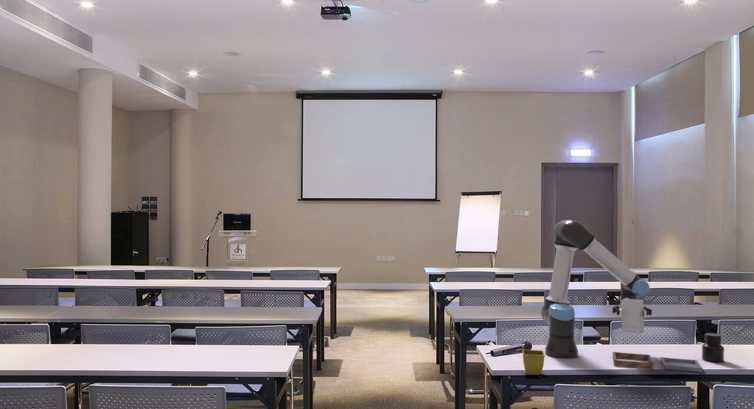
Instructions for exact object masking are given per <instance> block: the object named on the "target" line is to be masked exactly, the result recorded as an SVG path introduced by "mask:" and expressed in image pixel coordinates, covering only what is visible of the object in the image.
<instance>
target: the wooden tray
mask: <svg viewBox="0 0 754 409" xmlns="http://www.w3.org/2000/svg"><path fill="white" fill-rule="evenodd" d="M623 358H627V359H628V360H627V359H623ZM635 360H637V361H635ZM612 361H613V366H614V367H623V366H626V367H625V368H638V369H648V370H654V362H653V359H652V357H651V355H650V354H644V353H634V352H633V353H632V352H630V353H629V352H622V351H621V352H620V351H619V352H618V351H612Z"/></svg>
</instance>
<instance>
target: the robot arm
mask: <svg viewBox="0 0 754 409" xmlns="http://www.w3.org/2000/svg"><path fill="white" fill-rule="evenodd" d="M553 229H554V230H553V235H554V243H553V245H554V247H555V248H556V249H555V257H554V264H553V269H552V276H551V282H550V288H549V294H548V296H546V297H545V298H544V303H543V304H544V305H543V306H542V307H541V311H540V312H541V313H540V314H541V319H542V321H543V322H544V323H545V324H546V325H547V326H548V340H547V342H546V345H545V350H544V355H547V356H549V357H554V358H560V359H561V358H562V359H571V358H577V357H578V356H579V351H578V347H577V344H576V341H575V317H576V312H575V308H574V307H573V306H572V305H570V302H569V300H568V293H569V292H568V291H569V287H570V280H571V276H572V275H571V274H572V269H573V268H572V267H573V261H574V254H575V252H576V251H577V250H579V251H580V252H585V253H586V254H587V255H589V257H591V258H592V259H593V260H594V261H595V262H597V263H598V264H599V265H600V266H601V267H603V269H605V270H606V271H607V272H609V273H610V275H612V276H613V277H614V278H616V280H617V281H619V282H620V299H619V304H615V305H614V306H613V307H612V313H613V314H616V315H617V316H620V317H622V308H621V300H623V299H635V300H638V298H637V297H638V296H639V297H640V296H641V297H642V296H643V297H644V296H646V295H647V294H649V292H650V289H651V288H650V287H651V286H650V284H649V283H648V281H646V280H645V279H642V278H641V277H640V276H639V275H638V274H637V273H636V272H634V271H633V270H631V269H630V268H629V267H628V266H627V265H625V263H623V262H622V261H621V260H620V259H619V258H618V257H616V256H615V255H614V254H613V253H612V252H611V251H609V249H607V248H606V247H605V246H604V245H603V244H602V243H600V242H599V241H598V240H596V236H595V235H594V233H592V232H591V231H590V230H589V229H588V228H587V227H586V226H584V224H583V223H581V222H580V221H578V220H573V219H571V220H570V219H563V220H561V221H559V222H558V223H557V224H556V225H555V227H554V228H553ZM652 315H653V309H650V308H649V307H647V306H644V305H643V316H644V318H645V319H646V318H647V316H652Z"/></svg>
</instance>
